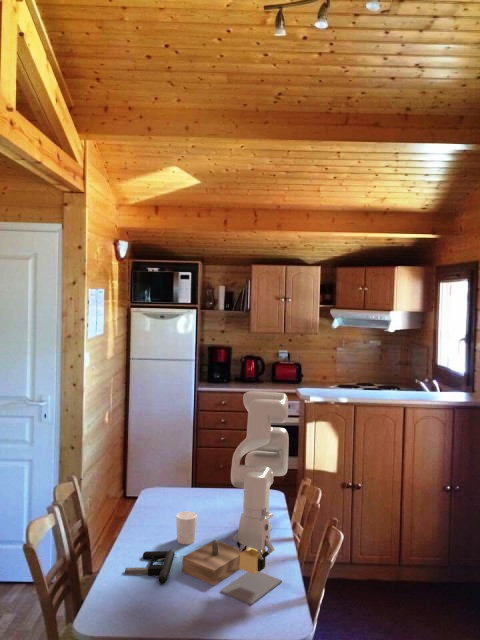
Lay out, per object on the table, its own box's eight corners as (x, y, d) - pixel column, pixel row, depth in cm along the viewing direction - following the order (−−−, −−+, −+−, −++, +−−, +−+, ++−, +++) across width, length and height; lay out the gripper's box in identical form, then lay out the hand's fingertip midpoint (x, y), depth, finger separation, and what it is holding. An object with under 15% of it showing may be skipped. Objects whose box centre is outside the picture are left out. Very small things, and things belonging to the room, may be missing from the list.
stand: (214, 553, 198) (215, 527, 198) (245, 565, 190) (246, 538, 190) (181, 571, 183) (182, 544, 183) (214, 585, 175) (215, 556, 175)
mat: (252, 570, 186) (252, 569, 186) (281, 582, 179) (282, 580, 179) (220, 592, 171) (220, 590, 171) (251, 605, 164) (251, 603, 164)
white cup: (192, 546, 203) (193, 520, 203) (172, 543, 204) (173, 517, 204) (198, 537, 211) (199, 512, 210) (179, 535, 212) (180, 510, 212)
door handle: (120, 576, 175) (170, 575, 174) (133, 548, 195) (178, 548, 194) (121, 586, 175) (170, 585, 175) (134, 558, 195) (178, 557, 195)
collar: (249, 561, 179) (250, 546, 179) (265, 567, 175) (265, 552, 175) (239, 568, 174) (239, 553, 174) (254, 574, 171) (255, 558, 170)
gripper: (283, 514, 172) (281, 570, 173) (239, 502, 182) (237, 554, 183) (270, 521, 166) (268, 579, 167) (226, 508, 176) (224, 562, 177)
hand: (252, 566), depth 175 cm, fingers closed on collar, 5 cm apart
